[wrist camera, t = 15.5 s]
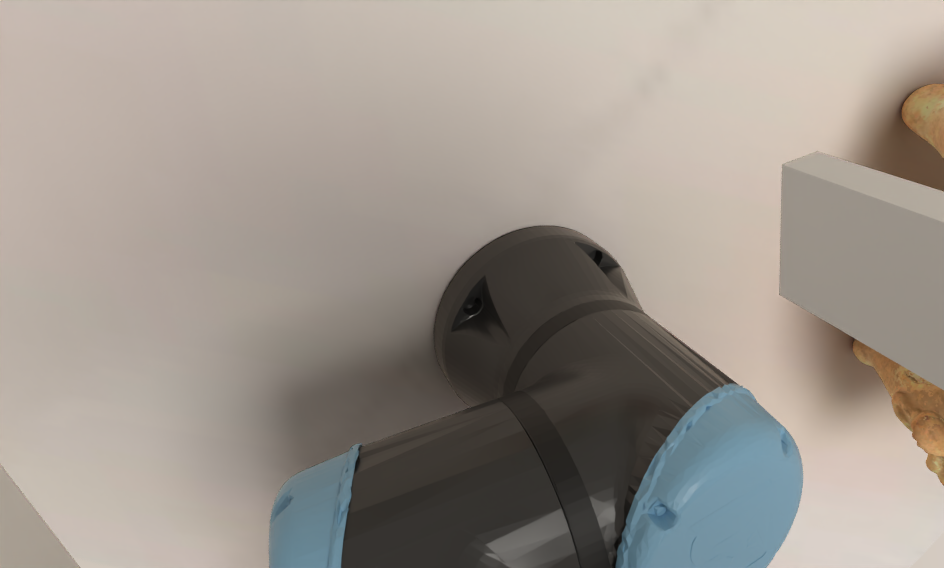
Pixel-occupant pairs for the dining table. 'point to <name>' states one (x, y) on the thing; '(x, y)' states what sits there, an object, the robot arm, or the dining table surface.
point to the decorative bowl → (913, 398)
